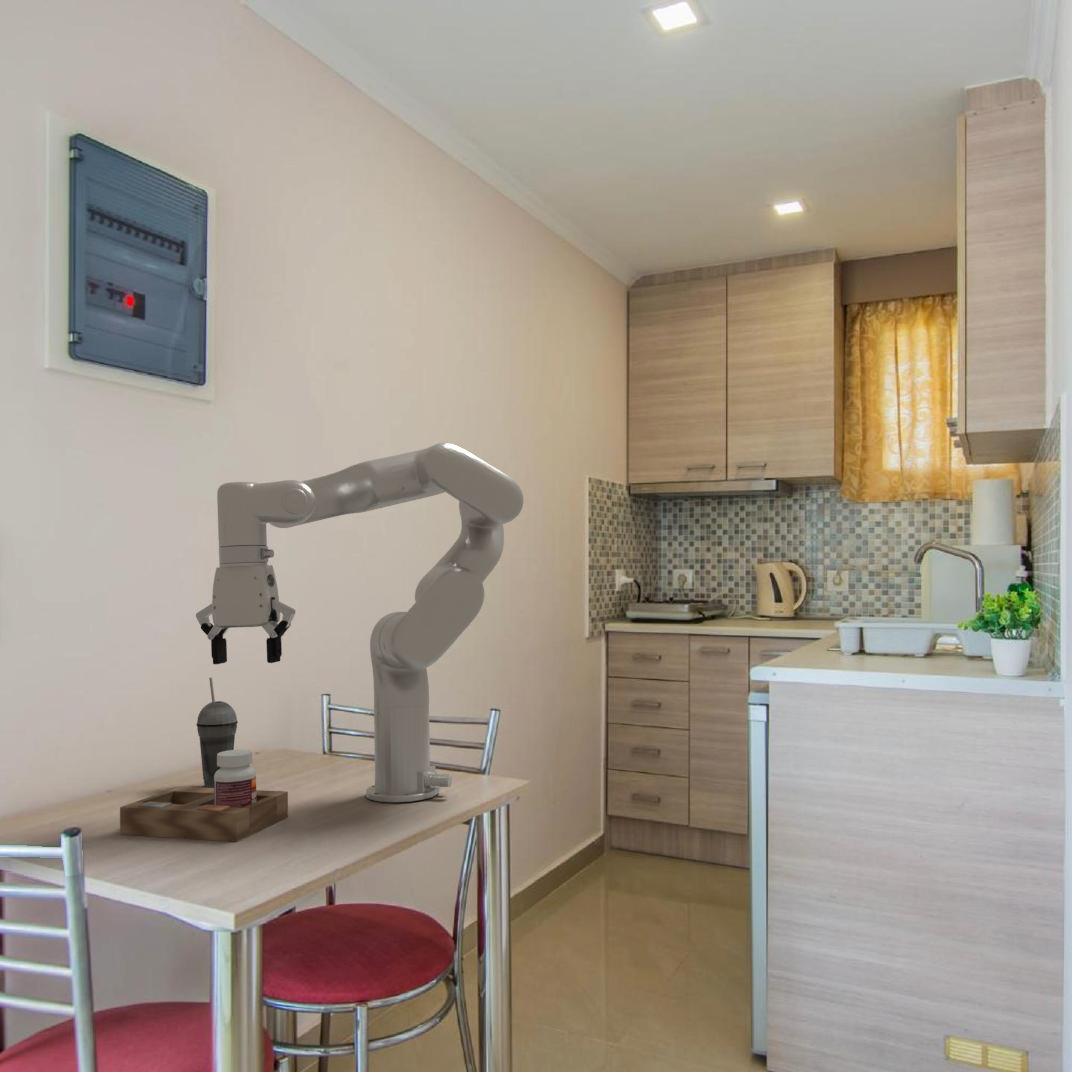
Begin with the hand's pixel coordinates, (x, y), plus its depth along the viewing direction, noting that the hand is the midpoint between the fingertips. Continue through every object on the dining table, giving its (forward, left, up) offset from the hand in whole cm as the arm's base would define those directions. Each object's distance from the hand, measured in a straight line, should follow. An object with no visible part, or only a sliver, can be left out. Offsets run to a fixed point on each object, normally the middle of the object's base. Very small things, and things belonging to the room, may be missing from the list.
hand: (246, 662), depth 150 cm
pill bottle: (-3, +8, -25) cm, 26 cm away
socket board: (+2, +8, -24) cm, 26 cm away
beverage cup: (+17, -17, -25) cm, 34 cm away
